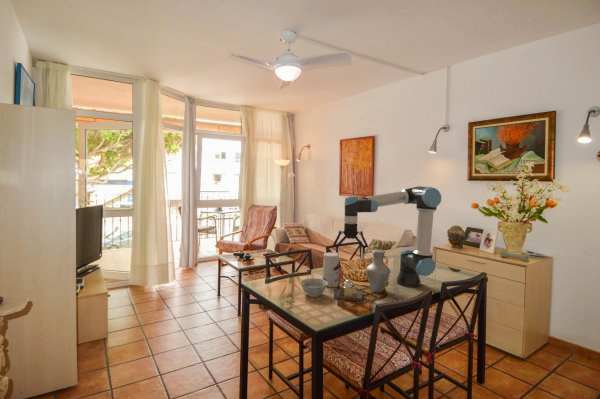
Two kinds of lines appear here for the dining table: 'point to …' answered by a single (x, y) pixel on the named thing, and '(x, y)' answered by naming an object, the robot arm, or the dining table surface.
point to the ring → (348, 290)
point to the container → (331, 269)
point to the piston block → (337, 296)
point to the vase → (377, 271)
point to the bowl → (313, 286)
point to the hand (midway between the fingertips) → (350, 258)
